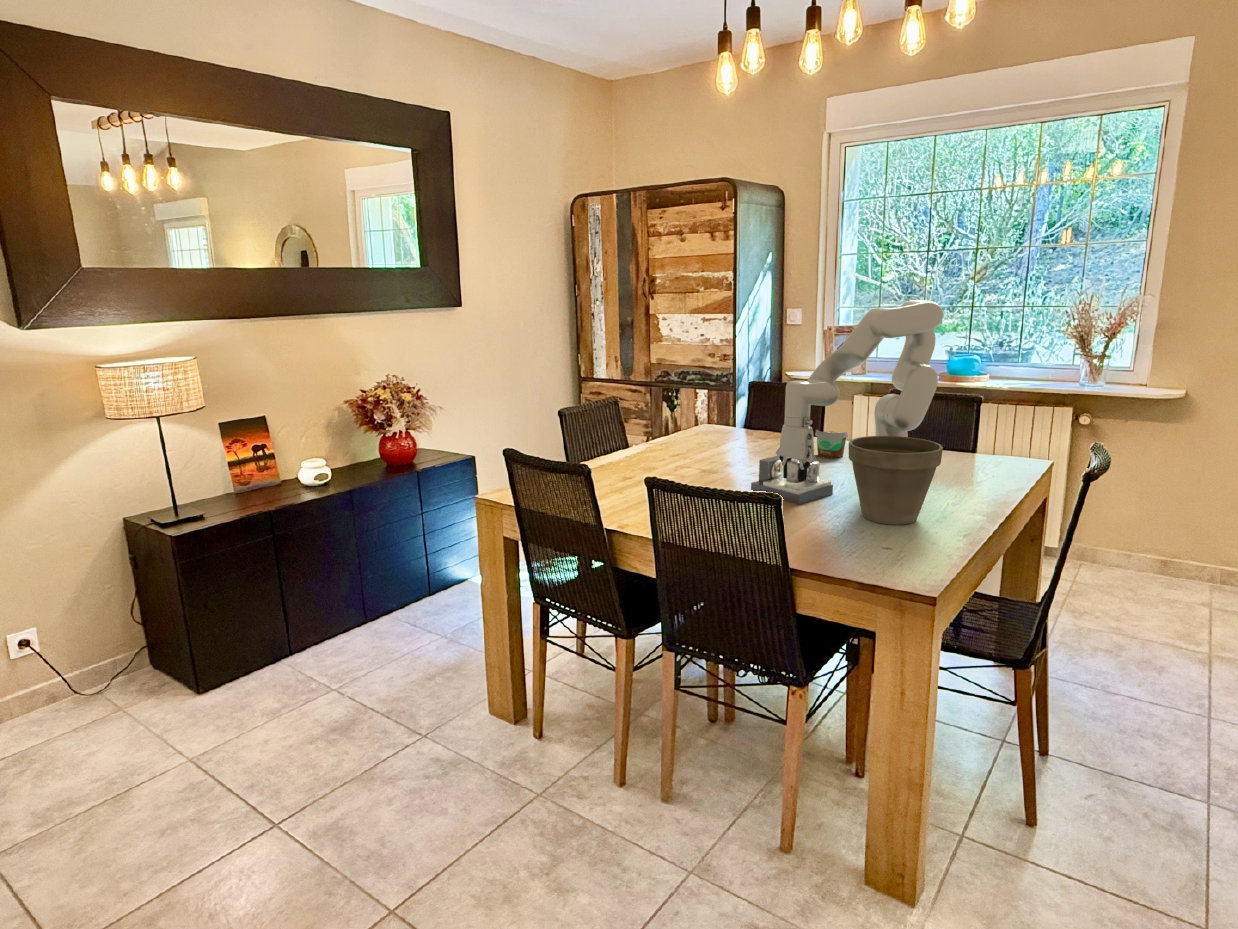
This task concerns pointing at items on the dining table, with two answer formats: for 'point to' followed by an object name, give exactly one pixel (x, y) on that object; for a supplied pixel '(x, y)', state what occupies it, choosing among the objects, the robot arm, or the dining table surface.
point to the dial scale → (788, 483)
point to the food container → (831, 444)
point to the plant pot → (893, 475)
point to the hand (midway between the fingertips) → (794, 478)
